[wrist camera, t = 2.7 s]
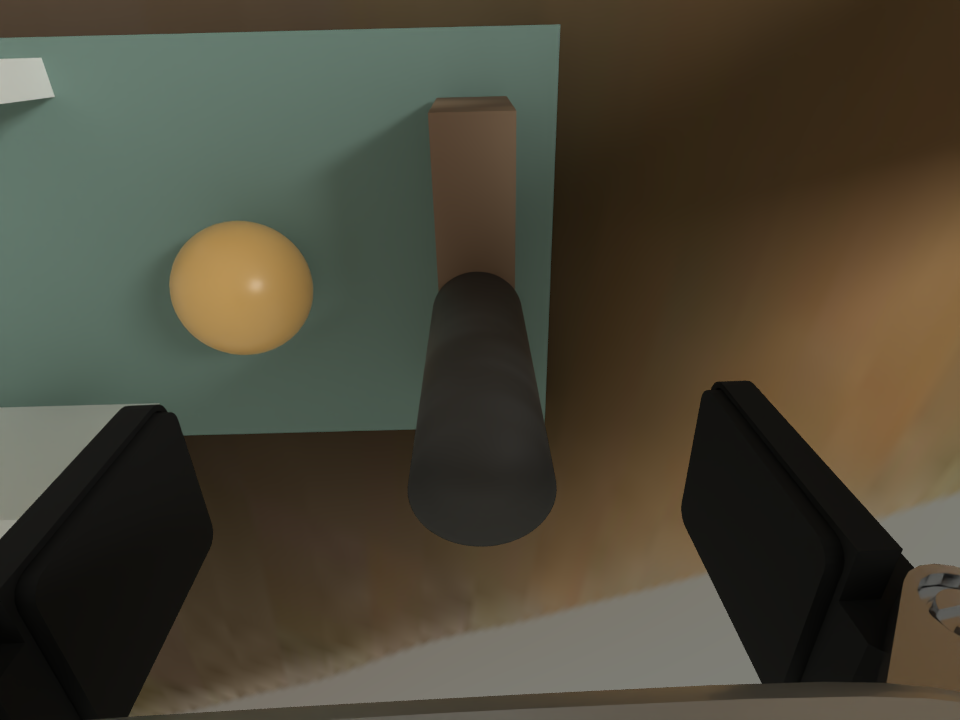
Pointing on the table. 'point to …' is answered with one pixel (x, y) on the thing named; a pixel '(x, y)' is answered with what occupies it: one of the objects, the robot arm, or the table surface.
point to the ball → (241, 287)
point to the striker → (478, 343)
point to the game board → (240, 197)
